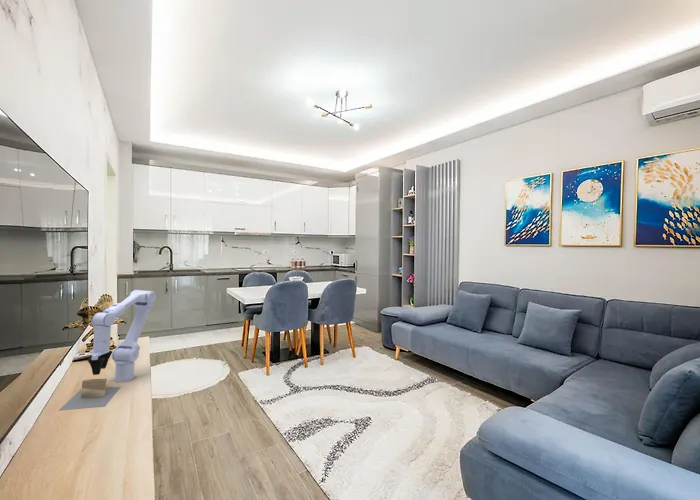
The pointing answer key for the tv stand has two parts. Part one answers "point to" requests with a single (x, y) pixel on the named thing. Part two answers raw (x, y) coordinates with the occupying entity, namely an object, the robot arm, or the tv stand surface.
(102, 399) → the mat
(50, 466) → the tv stand surface
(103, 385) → the tile
